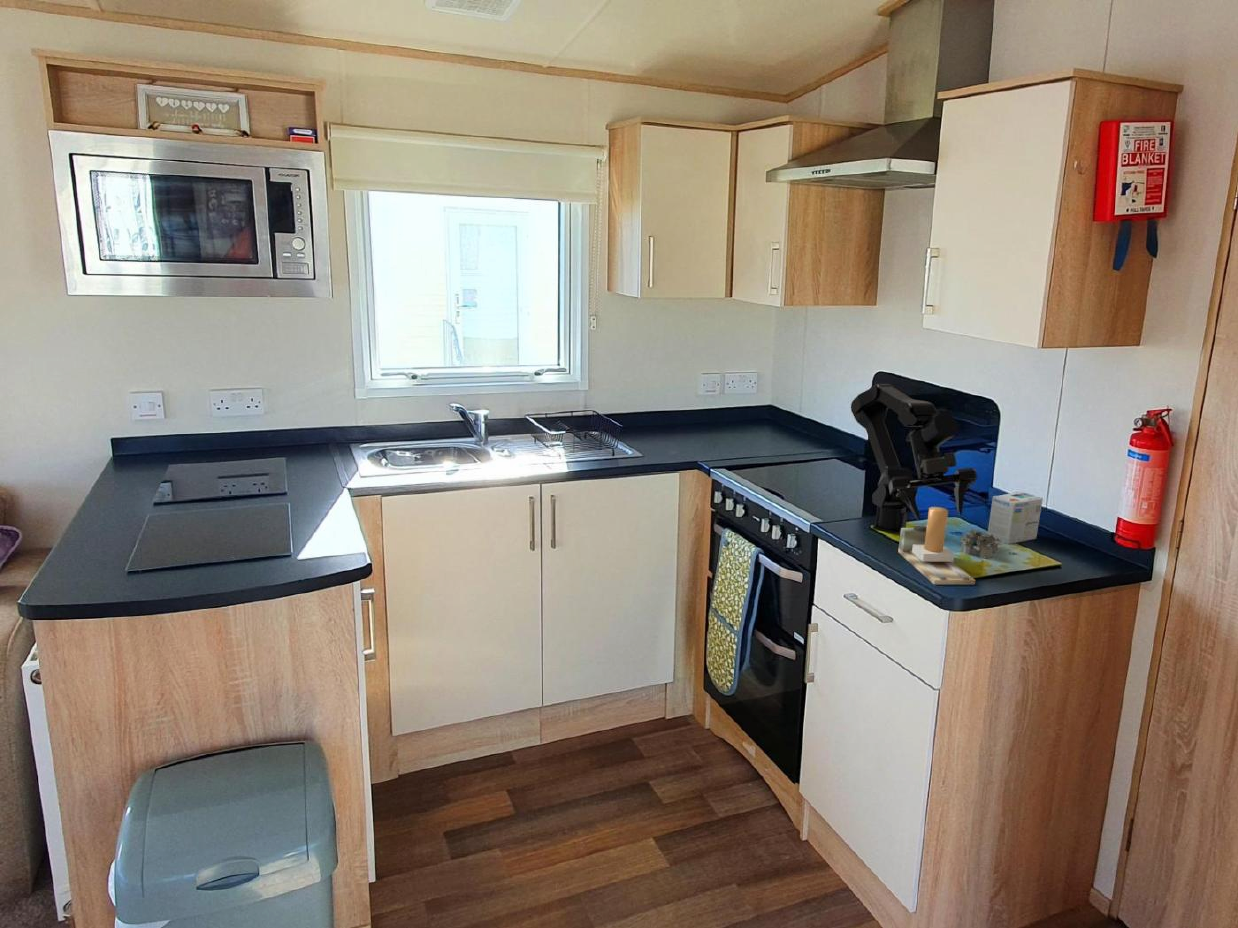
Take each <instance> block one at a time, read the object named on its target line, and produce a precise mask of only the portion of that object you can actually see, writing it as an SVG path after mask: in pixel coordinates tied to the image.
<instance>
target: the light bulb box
mask: <svg viewBox="0 0 1238 928" xmlns="http://www.w3.org/2000/svg"><path fill="white" fill-rule="evenodd" d="M1042 505H1043V497H1040V496H1037V495H1033V494H1030V493H1026V492H1024V491H1017V492H1011V493H1006V494H1001V495H993V496H992V501H991V507H990V508H991V509H990V515H989V521H988V529H987V534H988V535H993V537H994V538H998V537H1000V542H1001V543H1004V544H1007V545H1011V544H1014V543H1019V542H1020V543H1021V542H1026V541H1031V540H1036V539H1037V535H1038V529H1039V525H1040V516H1041V511H1042Z"/></svg>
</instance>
